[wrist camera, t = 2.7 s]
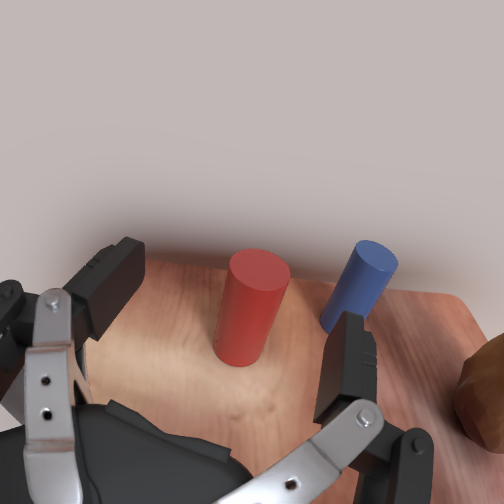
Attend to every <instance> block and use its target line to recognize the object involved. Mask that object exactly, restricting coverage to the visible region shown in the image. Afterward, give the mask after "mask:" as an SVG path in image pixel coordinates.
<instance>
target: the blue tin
mask: <svg viewBox="0 0 504 504" xmlns="http://www.w3.org/2000/svg"><path fill="white" fill-rule="evenodd" d="M397 266H398V261H397V259H396V257H395V256H394V254H393V253H392V252H391V251H390V250H388V249H387V248H385V247H384V246H382V245H381V244H378V243H376V242H373V241H368V240H363V241H359V242H358V243H357V244H356V246H355V248H354V250H353V252H352V254H351V257H350V259H349V261H348V263H347V265H346V267H345V269H344V271H343V273H342V275H341V277H340V279H339V281H338V283H337V285H336V287H335V289H334V291H333V293H332V295H331V297H330V299H329V301H328V303H327V304H326V306H325V308H324V310H323V312H322V314H321V316H320V322H321V325H322V327H323V329H324V330H325V331H326V332H327V333H328V334H330V332H331V331H332V329H333V327H334V326H335V324H336V322H337V320H338V319H339V317H340V315H341V313H342V312H343V311H344V310H347V311H350V312H353V313H356V314H360V315H363V318H364V320H365V319H366V317H367V316H368V314H369V313H370V311H371V310H372V308H373V306H374V305H375V303H376V302H377V300H378V298H379V297H380V295H381V294H382V292H383V290H384V289H385V287H386V285H387V284H388V282H389V280H390V279H391V277H392V275H393V274H394V272H395V270H396V269H397Z"/></svg>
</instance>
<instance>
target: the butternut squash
mask: <svg viewBox="0 0 504 504" xmlns="http://www.w3.org/2000/svg"><path fill="white" fill-rule="evenodd" d="M454 407H455V410H456V413H457V415H458V417H459V419H460V421H461V423H462V425H463V428H464V431H465V433H466V434H467V435H468V436H469V437H470V438H471V439H472V440H473V441H474V442H476V443H477V444H478V445H479V446H481V447H482V448H484V449H486V450H488V451H489V452H492V453H501V454H504V333H503V334H501V335H499V336H497V337H495V338H493V339H492V340H490V341H489V342H487V343H486V344H485V345H483V346H482V347H481V348H480V349H479V350H478V351H477V352H476V353H475V354H474V355H472V357H470V358H468V359H467V360H466V361H465V362H464V365H463V369H462V372H461V376H460V378H459V381H458V385H457V389H456V393H455V400H454Z"/></svg>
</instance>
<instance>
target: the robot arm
mask: <svg viewBox="0 0 504 504" xmlns="http://www.w3.org/2000/svg"><path fill="white" fill-rule="evenodd" d="M144 276H145V246H144V243H143V242H141V241H138V240H135V239H132V238H129V237H125V238H123V239H122V240H121V241H120V242H119V243H118V244H117V245H116V246H114V245H110V246H108V247H106V248H104V249H102V250H100V251H99V252H98V253H97V254H96V255H95V256H94V257H93V259H91V260H90V261H89V262H88V263H87V264H86V266H84V267H83V268H82V269H81V270H80V271H79V272H78V273H77V274H76V275H75V276H74V277H73V278H72V279H71V280H70V281H69V282H68V283H67V284H66V285H65V286H64V287H63V288H62V289H60V288H53V289H49V290H46V291H45V292H43V293H42V294H41V295H37V294H32V293H27V292H24V291H23V288H22V286H21V284H20V283H19V282H18V281H16V280H6V281H3V282H1V283H0V401H1V400H2V398H3V397H4V395H5V393H6V392H7V390H8V389H9V387H10V386H11V384H12V382H13V381H14V379H15V378H16V376H17V375H18V373H19V372H20V370H21V369H22V367H23V366H24V364H25V368H24V412H25V425H22V426H19V427H15V428H12V429H9V430H6V431H3V432H0V504H309V503H310V502H312V501H313V500H314V499H315V498H316V497H318V496H319V495H320V494H321V493H322V492H323V491H325V490H326V489H327V488H328V487H329V486H330V485H331V484H332V483H334V482H335V481H336V480H337V479H338V478H339V477H340V475H341V474H342V473H341V472H342V471H343V469H344V468H345V467H347V466H349V467H350V468H352V469H354V470H356V471H358V472H359V477H358V482H357V487H356V492H355V496H354V501H353V504H430V499H431V488H432V476H433V458H434V444H433V440H432V438H431V436H430V435H429V434H428V433H427V432H426V431H425V430H423V429H421V428H412V429H409V430H408V431H406V432H405V431H403V430H401V429H399V428H397V427H395V426H393V425H391V424H390V423H388V422H387V421H386V420H385V419H384V416H383V413H382V411H381V409H380V408H379V407H378V406H377V402H376V396H377V368H376V366H377V358H376V356H377V352H376V342H375V340H374V338H373V335H372V333H371V332H368V331H365V330H364V318H363V315H360V314H356V313H353V312H350V311H347V310H344V311H343V312H342V313H341V315H340V317H339V319H338V320H337V322H336V324H335V326H334V327H333V329H332V331H331V332H330V334H329V336H328V338H327V341H326V343H325V347H324V353H323V360H322V368H321V375H320V382H319V388H318V395H317V401H316V407H315V413H314V418H313V423H317V424H321V430H320V431H319V432H317V433H316V434H315V435H314V436H312V437H311V438H310V439H308V440H307V441H305V442H304V443H302V444H301V445H300V446H299V447H297V448H296V449H295V450H293V451H292V452H291V453H289V454H288V455H287V456H285V457H284V458H282V459H281V460H280V461H278V462H277V463H275V464H274V465H272V466H271V467H270V468H268V469H267V470H265V471H264V472H262V473H261V474H259V475H258V476H256V477H255V478H254V477H253V476H252V474H251V473H250V472H249V471H248V470H247V468H245V467H244V466H243V465H242V464H241V463H240V462H239V461H237V460H236V459H235V458H233V457H231V456H230V452H231V449H229V448H226V447H223V446H220V445H217V444H214V443H211V442H208V441H206V440H203V439H200V438H192V437H185V436H178V435H172V434H167V433H164V432H163V431H161V430H160V429H158V428H157V427H156V426H154V425H153V424H152V423H151V422H149V421H148V420H147V419H145V418H144V417H143V416H142V415H140V414H139V413H138V412H136V411H134V410H131V409H129V408H127V407H125V406H123V405H121V404H119V403H117V402H115V401H114V400H112V399H111V400H110V401H109V403H108V405H103V404H94V403H93V399H92V395H91V392H90V388H89V381H88V372H87V361H86V348H85V341H86V340H87V339H88V337H90V338H92V339H94V340H96V341H99V339H100V338H101V337H102V335H103V334H104V333H105V331H106V330H107V328H108V327H109V326H110V324H111V323H112V322H113V320H114V319H115V318H116V317H117V315H118V314H119V313H120V311H121V310H122V309H123V307H124V306H125V305H126V303H127V302H128V301H129V300H130V298H131V297H132V296H133V294H134V293H135V292H136V291H137V289H138V288H139V287H140V285H141V284H142V282H143V279H144Z"/></svg>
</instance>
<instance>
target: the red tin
mask: <svg viewBox="0 0 504 504" xmlns="http://www.w3.org/2000/svg"><path fill="white" fill-rule="evenodd" d="M290 278H291V274H290V269H289V267H288V265H287V264H286V263H285V262H284V261H283V260H282V259H281V258H280V257H278V256H277V255H275V254H273V253H271V252H268V251H265V250H260V249H246V250H242V251H239V252H237V253H236V254H235V255H234V256H233V257H232V258H231V260H230V263H229V268H228V273H227V278H226V283H225V288H224V292H223V297H222V302H221V307H220V312H219V317H218V322H217V327H216V332H215V337H214V343H213V347H214V351H215V353H216V355H217V356H218V357H219V359H221V360H222V361H223V362H225V363H226V364H228V365H231V366H236V367H244V366H248V365H251V364H253V363H254V362H255V361H256V360H257V359H258V358H259V356H260V354H261V351H262V349H263V346H264V344H265V341H266V339H267V337H268V334H269V332H270V329H271V327H272V324H273V322H274V319H275V317H276V314H277V312H278V309H279V307H280V304H281V301H282V299H283V296H284V294H285V291H286V289H287V286H288V283H289V281H290Z"/></svg>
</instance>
